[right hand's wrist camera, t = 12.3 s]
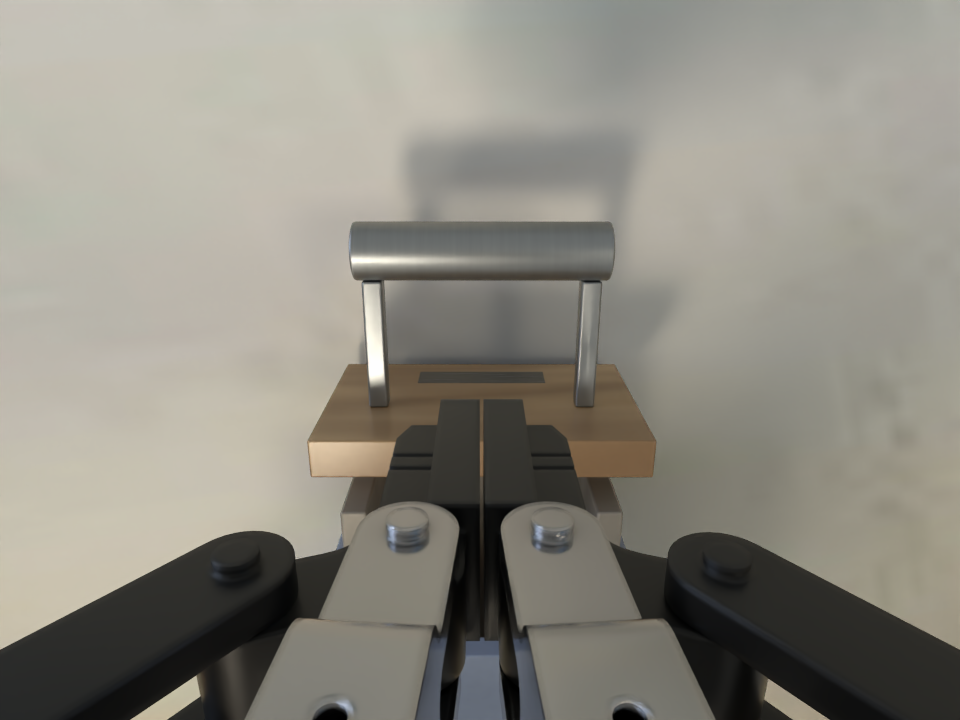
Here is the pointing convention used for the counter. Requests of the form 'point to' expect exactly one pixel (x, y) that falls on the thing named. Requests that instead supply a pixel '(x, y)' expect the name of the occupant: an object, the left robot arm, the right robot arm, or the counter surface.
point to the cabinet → (479, 678)
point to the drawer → (543, 387)
